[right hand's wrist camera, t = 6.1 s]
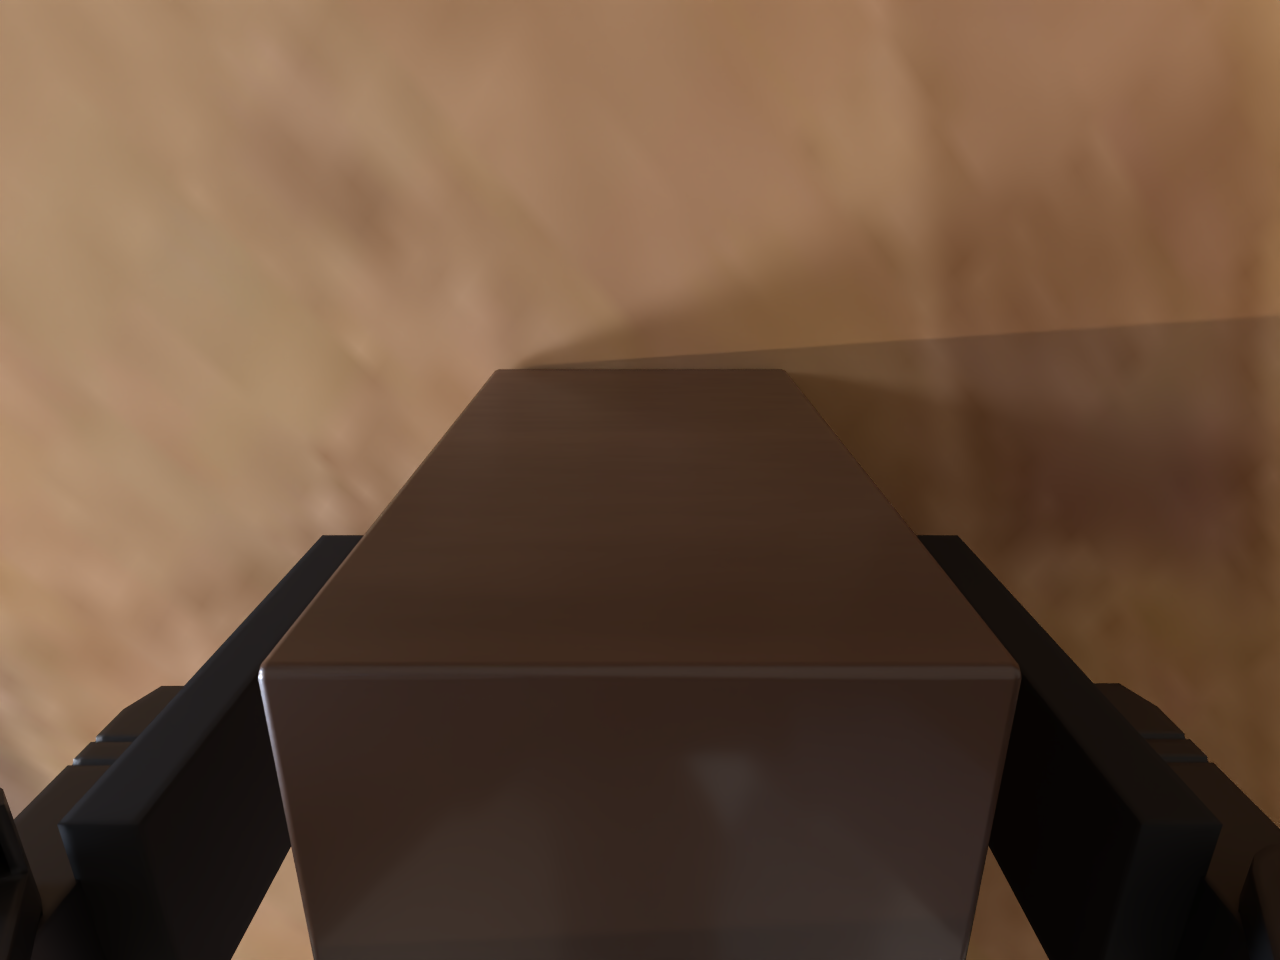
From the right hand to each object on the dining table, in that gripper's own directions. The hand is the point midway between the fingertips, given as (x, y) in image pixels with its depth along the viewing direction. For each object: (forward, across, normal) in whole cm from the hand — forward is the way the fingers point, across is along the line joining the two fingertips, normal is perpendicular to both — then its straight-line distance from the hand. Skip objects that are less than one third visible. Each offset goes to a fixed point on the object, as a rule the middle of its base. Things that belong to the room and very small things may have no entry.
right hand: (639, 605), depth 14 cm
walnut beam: (+1, 0, -12) cm, 12 cm away
